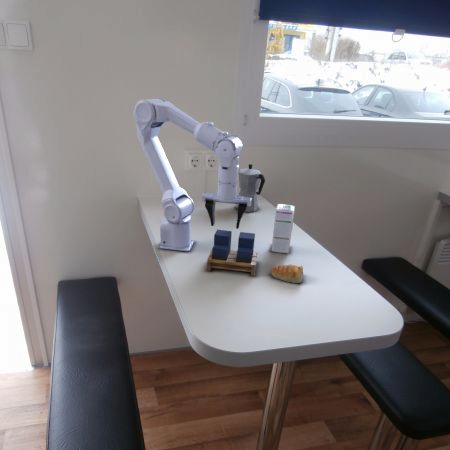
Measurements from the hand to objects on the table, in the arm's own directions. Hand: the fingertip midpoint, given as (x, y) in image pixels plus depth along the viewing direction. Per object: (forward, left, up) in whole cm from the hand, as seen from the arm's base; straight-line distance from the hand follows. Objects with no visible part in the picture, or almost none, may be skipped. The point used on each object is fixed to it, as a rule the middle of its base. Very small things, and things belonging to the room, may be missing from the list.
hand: (225, 226), depth 124 cm
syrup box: (+18, +10, -10) cm, 23 cm away
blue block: (0, -7, -6) cm, 10 cm away
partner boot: (+7, -7, -6) cm, 12 cm away
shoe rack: (+4, -7, -10) cm, 13 cm away
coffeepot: (+4, +48, -10) cm, 49 cm away
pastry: (+21, -10, -10) cm, 25 cm away
